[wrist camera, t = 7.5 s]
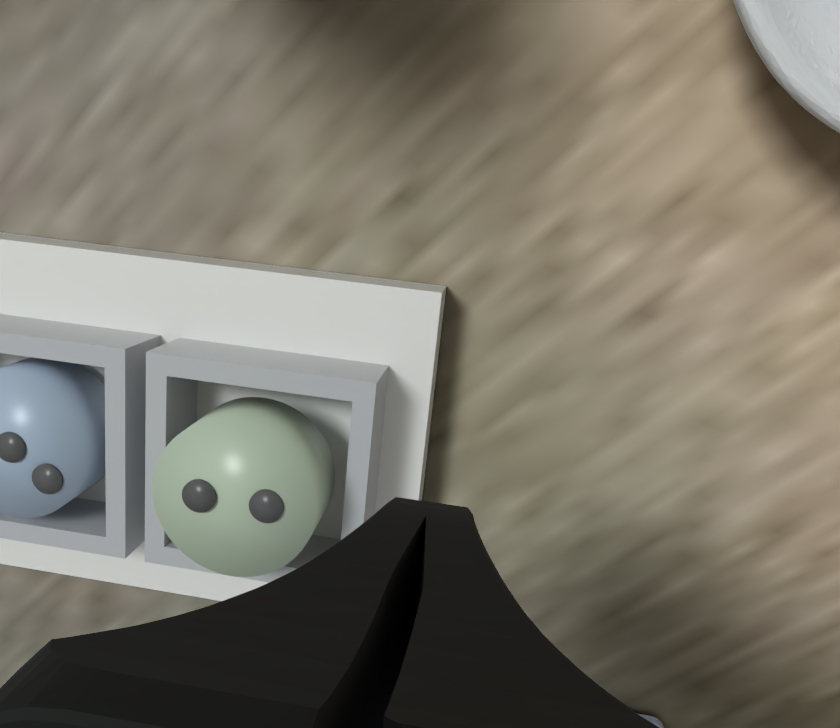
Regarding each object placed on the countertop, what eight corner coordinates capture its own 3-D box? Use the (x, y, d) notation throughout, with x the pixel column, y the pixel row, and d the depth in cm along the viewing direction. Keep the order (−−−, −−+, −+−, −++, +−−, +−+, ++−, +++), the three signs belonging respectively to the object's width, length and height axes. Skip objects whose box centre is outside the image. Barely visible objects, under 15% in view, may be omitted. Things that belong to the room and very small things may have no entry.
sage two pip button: (329, 551, 20) (309, 591, 18) (185, 528, 20) (149, 564, 18) (341, 408, 19) (320, 433, 17) (188, 387, 19) (151, 409, 17)
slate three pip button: (122, 499, 22) (83, 530, 20) (-6, 479, 22) (-58, 507, 20) (122, 365, 21) (81, 383, 19) (-13, 346, 21) (-69, 362, 19)
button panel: (410, 604, 24) (393, 673, 20) (-198, 504, 26) (-304, 551, 22) (446, 286, 21) (434, 303, 17) (-236, 203, 23) (-364, 204, 20)
